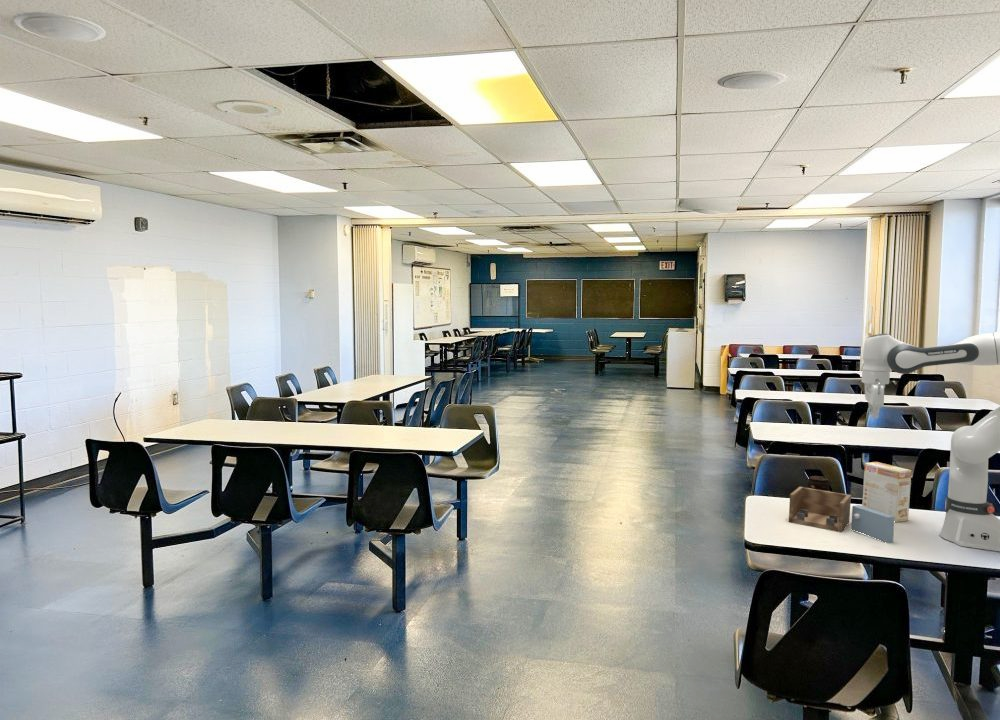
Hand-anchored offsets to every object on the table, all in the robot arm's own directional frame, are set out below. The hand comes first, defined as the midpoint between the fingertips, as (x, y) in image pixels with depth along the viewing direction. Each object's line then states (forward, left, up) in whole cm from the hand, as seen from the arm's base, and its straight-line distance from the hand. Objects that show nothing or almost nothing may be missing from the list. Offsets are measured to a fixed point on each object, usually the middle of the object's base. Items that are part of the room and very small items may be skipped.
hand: (873, 416), depth 249 cm
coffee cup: (+18, -7, -41) cm, 45 cm away
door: (-4, +13, -41) cm, 43 cm away
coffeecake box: (-4, -16, -41) cm, 44 cm away
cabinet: (+14, +9, -41) cm, 44 cm away
